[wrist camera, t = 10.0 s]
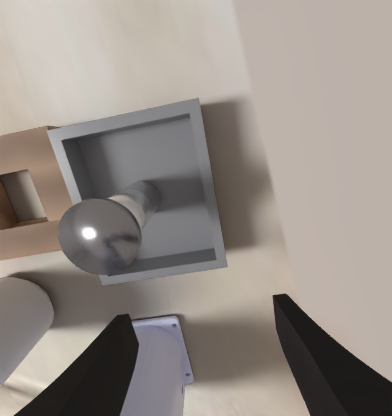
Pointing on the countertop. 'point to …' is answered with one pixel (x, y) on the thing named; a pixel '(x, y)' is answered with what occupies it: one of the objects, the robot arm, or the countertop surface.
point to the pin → (108, 228)
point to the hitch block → (46, 189)
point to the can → (21, 321)
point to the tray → (154, 173)
